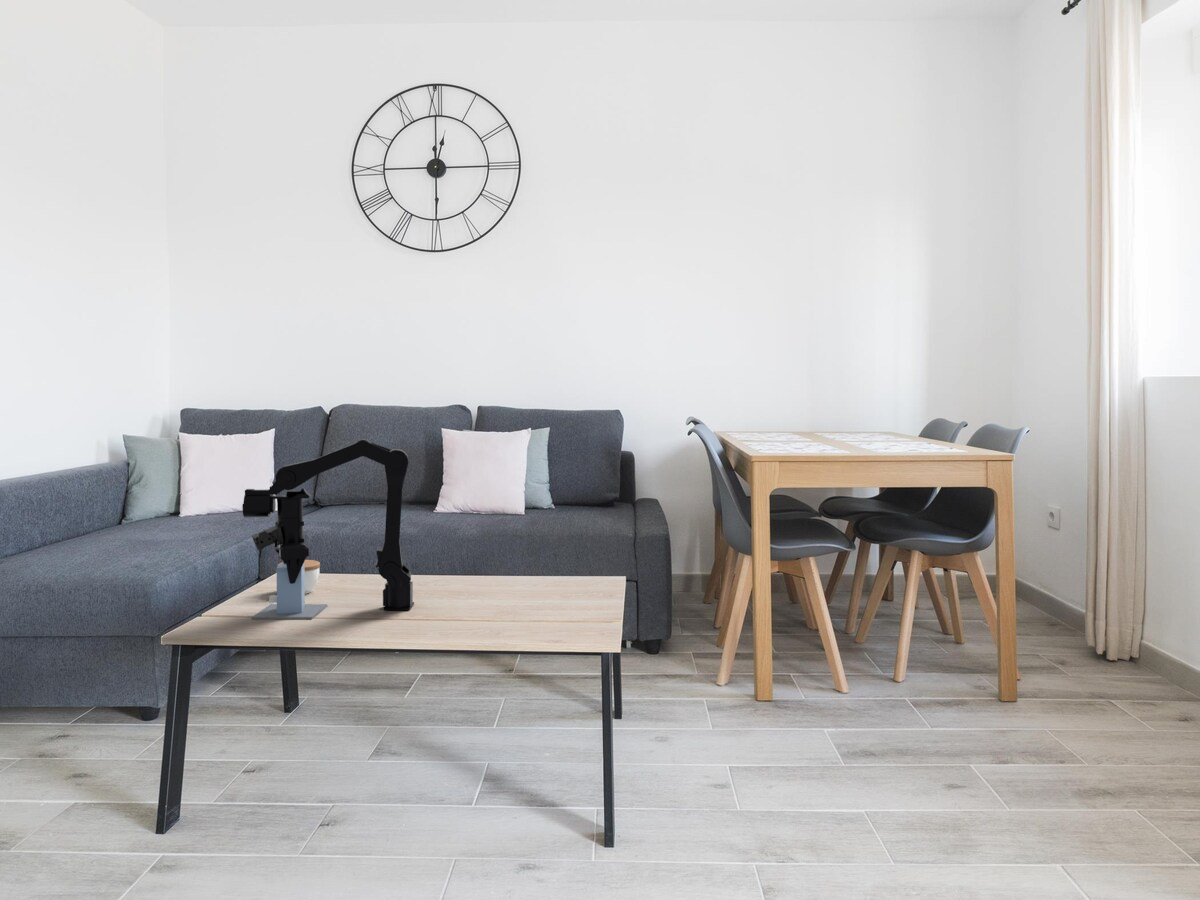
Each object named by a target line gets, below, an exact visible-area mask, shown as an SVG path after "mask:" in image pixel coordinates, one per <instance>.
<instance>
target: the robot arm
mask: <svg viewBox="0 0 1200 900" xmlns="http://www.w3.org/2000/svg"><path fill="white" fill-rule="evenodd" d="M361 457H362V458H363V457H364V458H367V459H369V460H372V461H374V462H376V463H377V464H381V465H383V466H384V471H385V479H386V485H387V495H386V512H385V530H384V531H385V532H384V542H383V546H377V549H376V555H377V556H376V557H377V560H376V563H375V568H376V569H378V574H379V575H380V576H381V577H382V578H383V579H384V580H386V583H385V584H384V589H383V590H382V607H383V608H382V609H383V611H410V610H411V609H412V608H413V607H414V605H415V602H413V598H414V597H413V596H414V594H413V592H414V590H413V587H414V586H413V585H414V583H413V581H411V580H412V571H411V570H410V569H409V568H408V567H406V565H404V564H403V556H402V548H401V542H400V540H401V539H400V536H401V533H400V532H401V521H402V520H401V517H402V504H403V502H402V499H403V487H404V482H405V480H406V479H405V478H406V474H407V471H408V467H409V456H408V453H407V452H405V451H404V450H402V449H401V448H393V449H390V448H388V447H385V446H382V445H379V444H377V443H374V442H372V441H369V440H368V439H365V438H362V439H359V440H358V441H357V442H355V443H352V444H349V445H347V446H344V447H342V448H340V449H336V450H334V451H331V452H329V453H326V454H324V455H321V456H320V457H317V458H314V459H310V460H305V461H299V462H294V463H290V464H286V465H284V466H283V467H281V468H279V469H278V470H277V471H276V474H275V481H274V483H273V484H272V485H270V486H269V489H254V488H246V489H244V497H243V503H242V507H241V508H242V515H243V518H250V519H251V518H270V517H271V513H272V514H275V513H277V519H276V521H275V522H274V523H275V524H274V527H271V528H268V529H264V530H262V531H260V532H258V533H255V534H253V535H251V539H252V541H253V543H254V545H255V548H256V550H257V551H260V550H263V549H265V548H267V547H268V546H272V545H273V548H274V551H275V552H276V553H277V554H278V557H279V559H280V560H281V561H282V562H283V563H284V564H286V567H287V572H288V577H289V582H290V584H293V583H295V582H296V579H297V577H298V575H299V572H300V570H301V568H302V565H303V563H304V561H305V560H307V557H309V556H310V549H309V547H308V546H307V545H306V544H305V538H304V527H305V522H304V520H303V519H304V517H303V513H304V512H303V511H304V509H303V502H304V500H303V499H310V498H311V497H312V494H311V493H310V492H309V491H308V490H307V489H306V488H305V487H302V488H301V490H296V491H295V490H294V489H296V488H297V487H300V486H302V484H304V483H306V482H307V481H310V479H312V478H314V477H316V476H317V475H319V474H321V473H323V472H327V471H329V470H331V469H333V468H336V467H339V466H341V465H344V464H347V463H349V462H351V461H353V460H357V459H358V458H361ZM284 490H285V491H287V492H286V494H280V493H281V492H282V491H284ZM291 490H292V491H291ZM276 503H277V505H276ZM276 506H277V507H276ZM276 509H277V510H276ZM276 511H277V512H276ZM277 547H278V548H277Z"/></svg>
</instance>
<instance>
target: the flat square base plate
mask: <svg viewBox="0 0 1200 900" xmlns="http://www.w3.org/2000/svg"><path fill="white" fill-rule="evenodd" d="M327 607H328V604H327V603H324V604H323V603H318V604H317V603H313V604H312V603H305V608H304V609H303V611H302V613H285V614H277V603H270V604H269V605H267V606H265V607H264V608H263V609H261V610H260V611H259V612H257V613H255V614H254V615H253V616H251V619H252V620H313V619H314V618H315V617H317V616H318V615H319V614H320V613H322V612H323V611H324V610H325V609H326V608H327Z"/></svg>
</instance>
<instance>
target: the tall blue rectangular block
mask: <svg viewBox="0 0 1200 900" xmlns="http://www.w3.org/2000/svg"><path fill="white" fill-rule="evenodd" d="M305 596H306V594H305V570H304V563H303V565H302V568H301V570H300V572H299V575H298V577H297V579H296V582H295V583H293V584H290V582H289V577H288V572H287V567H286V564H280V565H279V566H278V567H276V594H275V595H274V594H273V595H272V594H271V595H269V598H268V599H269V600H268V601H269V603H270V604H272V603H276V604H277V614H285V613H302V611H303V609H304V608H305V604H306V603H305V602H306V597H305Z"/></svg>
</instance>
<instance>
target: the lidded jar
mask: <svg viewBox="0 0 1200 900" xmlns="http://www.w3.org/2000/svg"><path fill="white" fill-rule="evenodd" d="M280 564H284V563H283V561H282V562H280V563H278V564H277V567H278V566H279V565H280ZM277 567H276V568H277ZM320 567H321V562H320V561H318V560H313V559H305V561H304V570H305V595H306V594H309V593H311V592H312V590H314V588H315V587H316V586H317V584H318V581H319V579H320Z"/></svg>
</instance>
